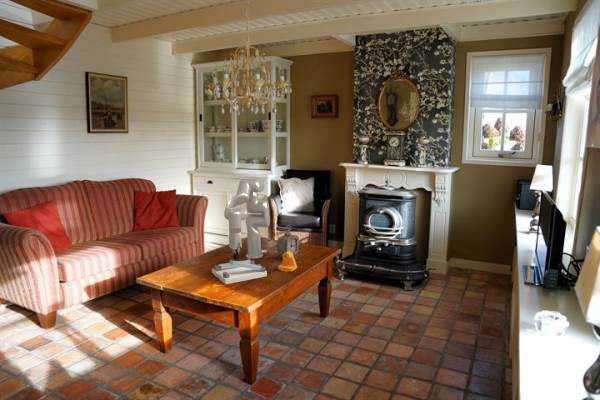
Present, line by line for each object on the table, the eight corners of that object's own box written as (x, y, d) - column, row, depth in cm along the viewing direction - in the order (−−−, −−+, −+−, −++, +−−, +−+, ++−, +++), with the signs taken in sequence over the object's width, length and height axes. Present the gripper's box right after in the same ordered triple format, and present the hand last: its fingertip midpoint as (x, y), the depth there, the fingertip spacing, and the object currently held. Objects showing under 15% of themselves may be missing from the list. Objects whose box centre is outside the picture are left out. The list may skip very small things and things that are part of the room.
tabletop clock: (286, 263, 317) (286, 228, 313) (276, 260, 323) (276, 226, 319) (299, 258, 329) (298, 224, 325) (289, 256, 334) (288, 222, 330)
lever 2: (259, 268, 295) (260, 266, 295) (262, 271, 291) (263, 268, 291) (229, 262, 283) (230, 259, 283) (232, 265, 279) (233, 261, 279)
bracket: (277, 270, 302) (277, 252, 300) (282, 267, 308) (282, 250, 306) (291, 272, 297) (291, 255, 295) (296, 269, 303) (296, 252, 301)
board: (251, 266, 311) (250, 257, 310) (266, 276, 291) (266, 267, 290) (211, 273, 297) (211, 264, 296) (225, 284, 277) (225, 274, 276)
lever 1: (249, 262, 308) (249, 259, 308) (252, 264, 304) (252, 261, 304) (218, 267, 297) (218, 264, 297) (221, 269, 293) (221, 266, 293)
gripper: (224, 228, 284) (225, 257, 287) (234, 233, 271) (235, 263, 274) (236, 227, 288) (236, 255, 291) (245, 232, 275) (246, 261, 278)
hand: (236, 259), depth 282 cm, fingers closed
